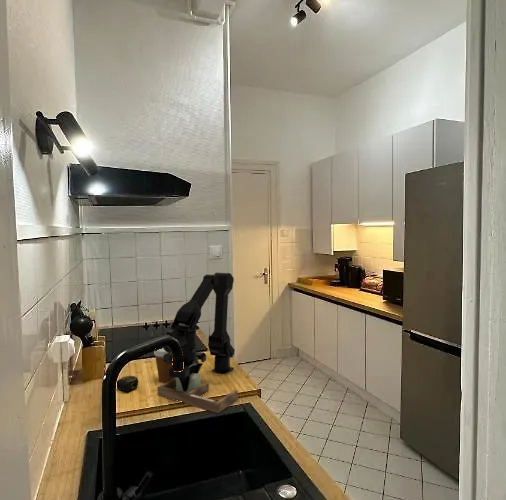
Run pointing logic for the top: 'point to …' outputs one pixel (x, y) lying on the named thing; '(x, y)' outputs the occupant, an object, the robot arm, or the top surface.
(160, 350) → the disposable coffee cup
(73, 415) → the top surface
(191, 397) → the walnut comb rail
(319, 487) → the top surface
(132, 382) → the tape measure
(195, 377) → the frame block
